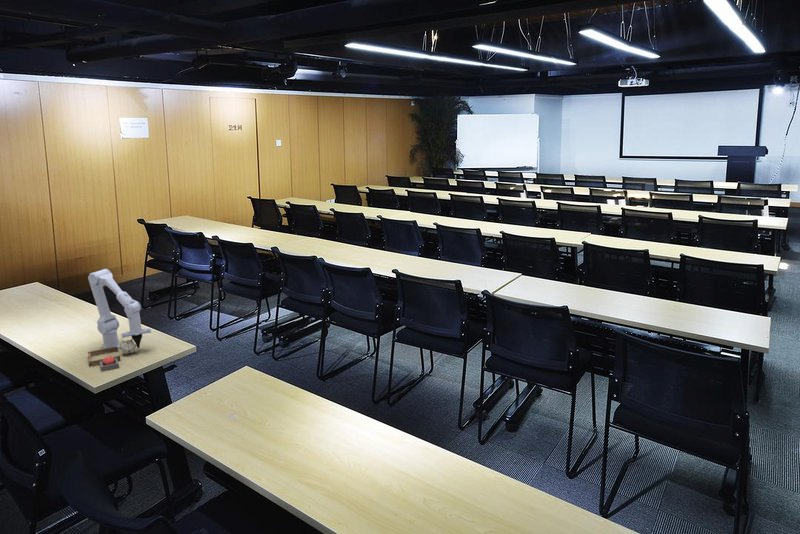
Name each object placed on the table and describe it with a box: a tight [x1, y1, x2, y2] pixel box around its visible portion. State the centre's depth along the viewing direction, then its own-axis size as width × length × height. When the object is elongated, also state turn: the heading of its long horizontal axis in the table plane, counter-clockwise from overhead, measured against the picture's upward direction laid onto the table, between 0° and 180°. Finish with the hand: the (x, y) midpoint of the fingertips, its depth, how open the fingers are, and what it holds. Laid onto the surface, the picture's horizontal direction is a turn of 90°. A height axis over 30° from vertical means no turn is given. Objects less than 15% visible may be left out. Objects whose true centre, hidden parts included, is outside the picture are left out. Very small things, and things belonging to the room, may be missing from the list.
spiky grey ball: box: [119, 338, 137, 357], centre depth 294 cm, size 9×8×10 cm
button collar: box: [99, 358, 120, 372], centre depth 280 cm, size 8×8×2 cm
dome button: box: [102, 355, 115, 366], centre depth 279 cm, size 5×5×4 cm
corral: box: [87, 346, 122, 368], centre depth 289 cm, size 15×14×2 cm
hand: (138, 347), depth 298 cm, fingers closed
